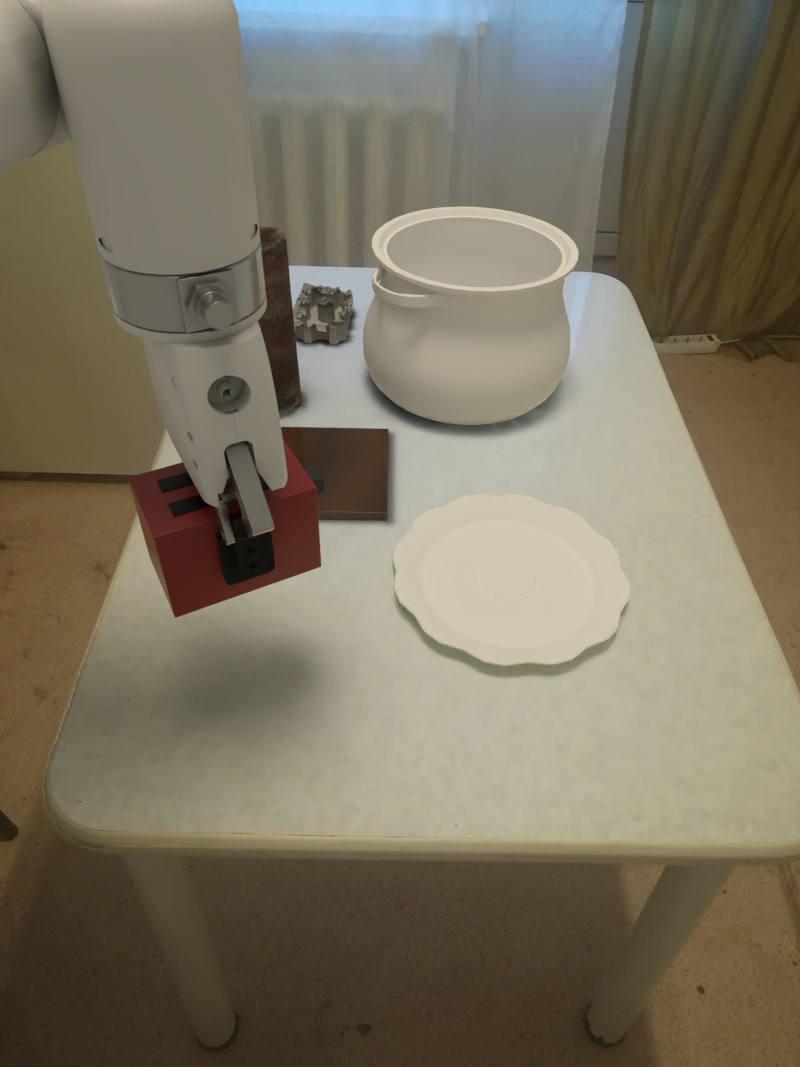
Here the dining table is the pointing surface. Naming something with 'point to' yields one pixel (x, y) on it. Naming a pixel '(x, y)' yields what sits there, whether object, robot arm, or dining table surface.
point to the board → (345, 469)
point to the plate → (510, 579)
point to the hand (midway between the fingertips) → (231, 539)
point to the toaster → (191, 527)
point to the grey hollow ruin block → (322, 313)
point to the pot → (468, 313)
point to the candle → (279, 319)
